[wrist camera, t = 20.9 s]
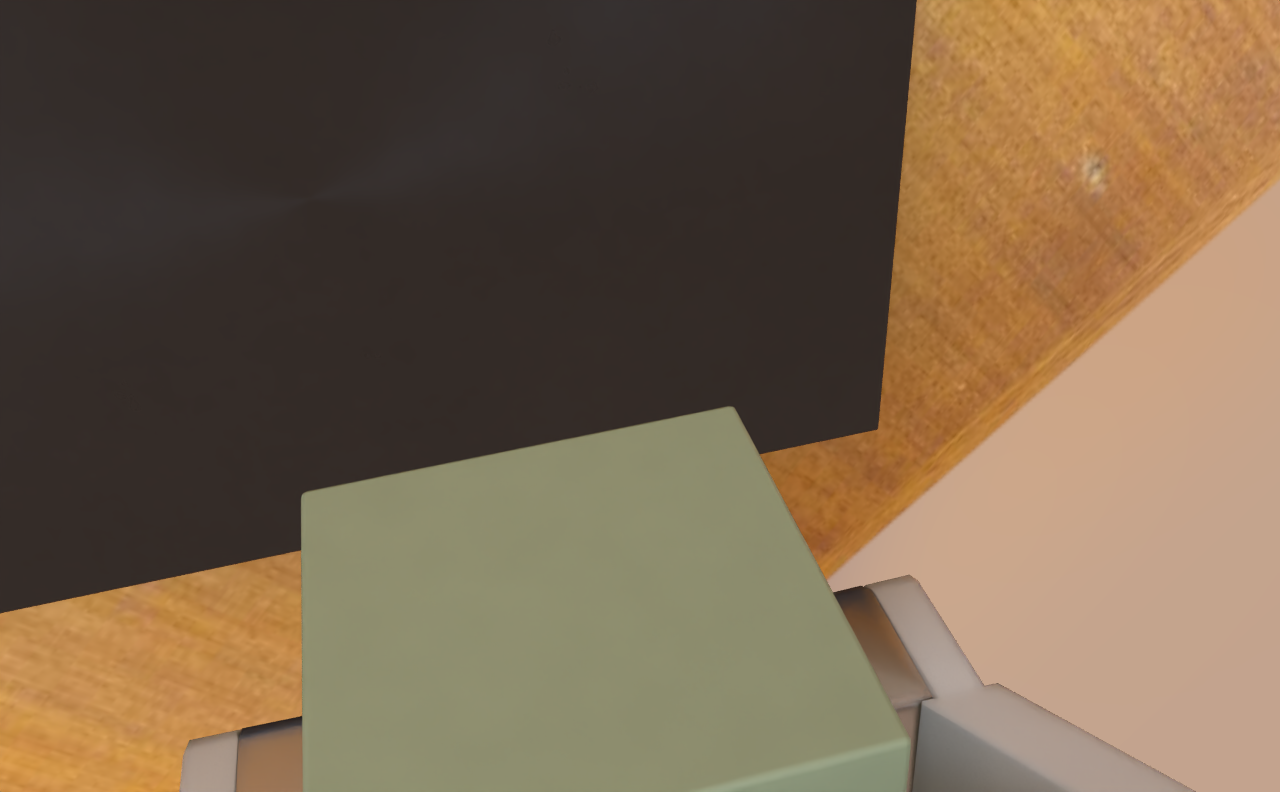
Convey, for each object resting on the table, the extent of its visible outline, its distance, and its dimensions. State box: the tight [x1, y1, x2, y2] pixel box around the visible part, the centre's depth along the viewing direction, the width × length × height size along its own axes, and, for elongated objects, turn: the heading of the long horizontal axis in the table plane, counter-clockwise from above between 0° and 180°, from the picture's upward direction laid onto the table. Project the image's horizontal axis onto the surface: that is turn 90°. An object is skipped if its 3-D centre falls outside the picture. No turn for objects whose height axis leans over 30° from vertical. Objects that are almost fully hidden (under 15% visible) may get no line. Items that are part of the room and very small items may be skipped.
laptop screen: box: [0, 0, 917, 613], centre depth 28 cm, size 22×30×1 cm
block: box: [301, 406, 911, 792], centre depth 11 cm, size 4×4×4 cm
